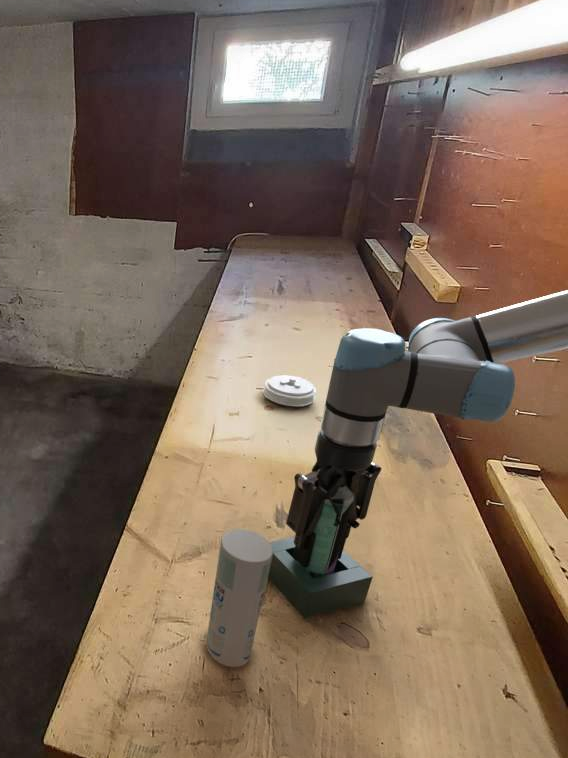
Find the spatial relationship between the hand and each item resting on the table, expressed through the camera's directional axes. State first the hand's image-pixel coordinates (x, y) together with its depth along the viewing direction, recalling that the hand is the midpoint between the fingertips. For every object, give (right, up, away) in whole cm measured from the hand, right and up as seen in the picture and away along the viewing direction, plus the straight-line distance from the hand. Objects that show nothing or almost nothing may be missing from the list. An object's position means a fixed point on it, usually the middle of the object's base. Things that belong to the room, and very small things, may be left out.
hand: (316, 557), depth 91 cm
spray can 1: (-17, -11, -8) cm, 22 cm away
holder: (0, -5, +3) cm, 6 cm away
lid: (+24, +24, +61) cm, 70 cm away
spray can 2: (0, -4, +2) cm, 4 cm away
